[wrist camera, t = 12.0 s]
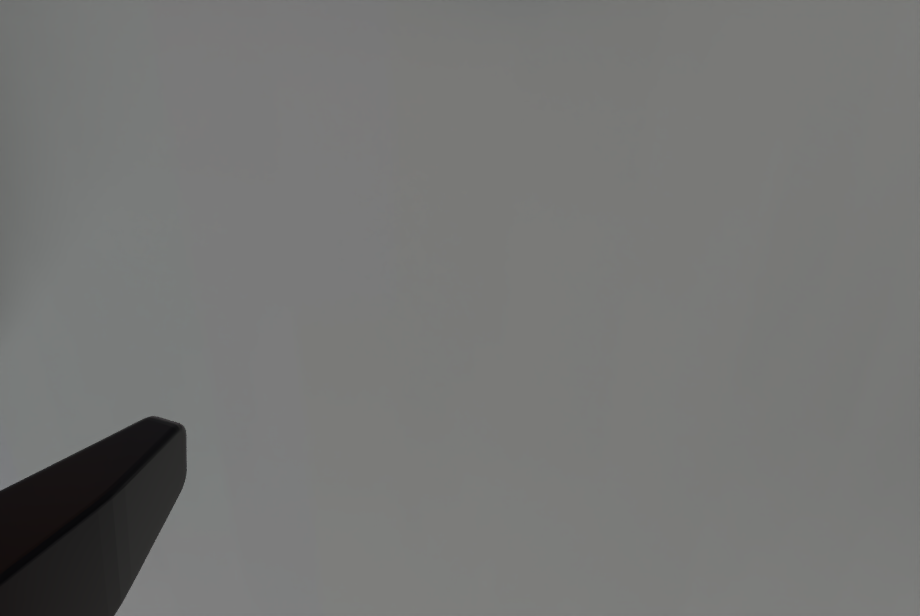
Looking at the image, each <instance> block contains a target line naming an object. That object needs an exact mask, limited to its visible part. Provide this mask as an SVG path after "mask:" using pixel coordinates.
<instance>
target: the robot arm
mask: <svg viewBox="0 0 920 616" xmlns="http://www.w3.org/2000/svg"><path fill="white" fill-rule="evenodd" d="M186 472H187V458H186V430H185V428H184V426H183V425H181V424H180V423H177V422H174V421H170V420H167V419H164V418H160V417H156V416H151V417H147V418H144V419H142V420H140V421H138V422H136V423H134V424H132V425H130V426H128V427H126V428H124V429H122V430H120V431H118V432H117V433H115V434H113V435H111V436H109V437H107V438H105V439H103V440H101V441H99V442H97V443H95V444H93V445H91V446H89V447H87V448H85V449H83V450H81V451H79V452H77V453H75V454H73V455H71V456H69V457H67V458H65V459H63V460H61V461H59V462H57V463H55V464H53V465H51V466H49V467H47V468H45V469H43V470H41V471H39V472H37V473H35V474H33V475H31V476H29V477H27V478H25V479H23V480H21V481H19V482H17V483H15V484H13V485H11V486H9V487H7V488H5V489H3V490H1V491H0V616H114V615H115V613H116V612H117V610H118V609H119V607H120V606H121V604H122V602H123V600H124V599H125V597H126V595H127V593H128V591H129V590H130V588H131V586H132V584H133V582H134V580H135V578H136V576H137V575H138V573H139V571H140V569H141V567H142V565H143V563H144V561H145V559H146V557H147V555H148V554H149V552H150V550H151V548H152V546H153V544H154V542H155V540H156V538H157V536H158V534H159V533H160V531H161V529H162V527H163V525H164V523H165V521H166V519H167V517H168V515H169V513H170V512H171V510H172V508H173V506H174V504H175V502H176V500H177V498H178V496H179V494H180V492H181V490H182V488H183V485H184V482H185V479H186Z"/></svg>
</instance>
